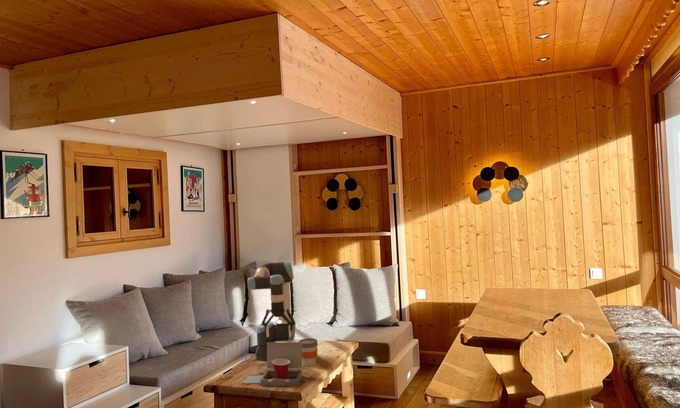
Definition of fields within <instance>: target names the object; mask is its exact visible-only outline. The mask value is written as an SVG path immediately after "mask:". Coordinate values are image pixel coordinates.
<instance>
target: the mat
mask: <svg viewBox="0 0 680 408" xmlns="http://www.w3.org/2000/svg"><path fill="white" fill-rule="evenodd" d="M263 376H264V375H247V376H246V377H245V379H244V380H243V381H242V383H241V384H242V385H261V378H262V377H263Z"/></svg>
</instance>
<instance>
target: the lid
mask: <svg viewBox="0 0 680 408" xmlns="http://www.w3.org/2000/svg"><path fill="white" fill-rule="evenodd" d="M275 359H288V360H290V363H289V366H288V370H302V371H303V365H302V342H299V341H295V342H294V341H279V342H274V343H267V360H266V371H274V366H273V363H272V361H273V360H275Z"/></svg>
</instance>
